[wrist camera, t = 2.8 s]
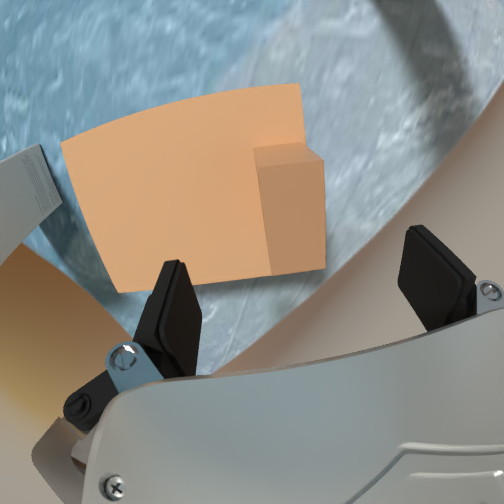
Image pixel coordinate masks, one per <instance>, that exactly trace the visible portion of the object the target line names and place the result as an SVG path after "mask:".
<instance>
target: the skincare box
mask: <svg viewBox="0 0 504 504" xmlns="http://www.w3.org/2000/svg"><path fill="white" fill-rule="evenodd" d="M62 203H63V202H62V200H61V198H60V195H59V193H58V191H57V189H56V186H55V184H54V182H53V179H52V177H51V174H50V172H49V169H48V167H47V164H46V161H45V159H44V156H43V153H42V151H41V148H40V145H39V144H38V143H37V144H35V145H32V146H30V147H28V148H26V149H24V150H22V151H20V152H18V153H16V154H14V155H12V156H10V157H8V158H6V159H4V160H2V161H0V265H1V264H2V263H3V262H4V261H5V259H6V258H7V257H8V256H9V255H10V254H11V253H12V251H14V250H15V248H16V247H17V246H18V245H19V244H20V243H21V242H22V241H23V240H24V239H25V238H26V237H27V236H28V235H29V234H30V233H31V232H32V231H33V230H34V229H35V228H36V227H37V226H38V225H39V224H40V223H41V222H42V221H43V220H44V219H45V218H47V217H48V216H49V215H50V214H51V213H52V212H53V211H54V210H55V209H56V208H57V207H58V206H60V205H61V204H62Z"/></svg>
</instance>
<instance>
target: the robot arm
mask: <svg viewBox="0 0 504 504" xmlns="http://www.w3.org/2000/svg"><path fill="white" fill-rule="evenodd" d="M475 280H476V276H475V275H474V274H473V272H472V271H471V270H470V269H469V268H468V267H467V266H466V265H465V264H464V263H463V262H462V261H461V260H460V259H459V258H458V257H457V256H456V255H455V254H454V253H453V252H452V251H451V250H449V248H448V247H446V246H445V245H444V244H443V243H442V242H441V241H440V240H439V239H438V238H437V237H436V236H434V235H433V234H432V233H431V232H430V231H429V230H428V229H427V228H426V227H424V226H423V225H415V226H410V227H409V230H407V231H406V235H405V242H404V249H403V254H402V260H401V266H400V271H399V276H398V286H399V288H400V290H401V291H402V293H403V294H404V296H405V297H406V299H407V300H408V302H409V303H410V305H411V306H412V308H413V309H414V311H415V313H416V314H417V316H418V317H419V319H420V320H421V322H422V324H423V325H424V327H425V329H426V330H427V332H426V333H423V334H420V335H417V336H413V337H410V338H407V339H404V340H400V341H397V342H393V343H390V344H386V345H382V346H378V347H375V348H371V349H367V350H363V351H358V352H354V353H350V354H346V355H341V356H336V357H331V358H326V359H321V360H316V361H311V362H306V363H299V364H293V365H287V366H280V367H273V368H266V369H258V370H249V371H240V372H231V373H221V374H209V375H197V376H195V375H196V366H197V357H198V349H199V341H200V333H201V325H202V312H201V309H200V306H199V303H198V301H197V298H196V295H195V292H194V289H193V286H192V283H191V280H190V277H189V274H188V271H187V268H186V265H185V263H184V262H180V260H179V259H176V260H169V261H165V262H164V264H163V266H162V269H161V271H160V274H159V277H158V279H157V282H156V284H155V287H154V290H153V292H152V295H150V296H149V297H148V299H147V302H146V304H145V307H144V310H143V312H142V315H141V318H140V321H139V324H138V326H137V329H136V332H135V335H134V338H133V341H132V342H131V341H127V342H122V343H120V344H118V345H116V346H115V347H113V348H112V349H111V350H110V352H109V353H108V355H107V357H106V361H105V365H106V368H107V370H105V371H104V372H103V373H101V374H100V375H98V376H97V377H95V378H94V379H93V380H91V381H90V382H88V383H87V384H85V385H84V386H83V387H81V388H80V389H78V390H77V391H76V392H74V393H72V394H71V395H70V396H69V397H68V398H67V400H66V402H65V404H64V407H63V413H64V417H63V418H62V419H61V418H60V417H58V418H57V419H56V420H55V422H54V423H53V424H52V425H51V427H50V428H49V429H48V430H47V431H46V432H45V434H44V435H43V436H42V438H41V439H40V440H39V441H38V442H37V443H36V445H35V446H34V448H33V450H32V455H31V456H32V461H33V464H34V466H35V467H36V468H37V470H38V471H39V473H40V474H41V475H42V477H43V478H44V479H45V480H46V482H47V483H48V485H49V486H50V487H51V488H52V490H53V491H54V492H55V493H56V495H57V496H58V497H59V498H60V499H61V500H62V502H63V503H64V504H504V291H503V290H502V288H501V287H500V286H499V285H497V284H496V283H494V282H492V281H488V280H483V281H480V282H479V283H478V284H477V286H476V285H475V284H474V283H475Z"/></svg>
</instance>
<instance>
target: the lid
mask: <svg viewBox="0 0 504 504" xmlns="http://www.w3.org/2000/svg"><path fill="white" fill-rule="evenodd" d="M60 144H61V148H62V152H63V155H64V159H65V162H66V166H67V169H68V172H69V176H70V179H71V182H72V185H73V188H74V191H75V194H76V197H77V200H78V202H79V205H80V208H81V211H82V213H83V216H84V219H85V221H86V224H87V226H88V229H89V231H90V234H91V236H92V238H93V241H94V243H95V245H96V248H97V250H98V252H99V254H100V257H101V259H102V261H103V263H104V265H105V267H106V269H107V272H108V274H109V276H110V278H111V280H112V282H113V284H114V286H115V288H116V290H117V292H118V293H125V292H135V291H145V290H154V287H155V284H156V282H157V279H158V277H159V274H160V271H161V269H162V266H163V264H164V262H165V261H169V260H176V259H179V260H180V262H184V263H185V265H186V268H187V271H188V274H189V277H190V280H191V283H192V285H199V284H207V283H216V282H224V281H232V280H240V279H247V278H255V277H262V276H270V275H272V276H276V275H283V274H290V273H297V272H304V271H311V270H317V269H324V268H326V211H325V180H324V161H323V160H322V159H321V158H320V157H319V156H318V155H316V154H315V153H314V152H313V151H312V150H310V149H309V148H308V147H307V146H306V137H305V127H304V117H303V108H302V100H301V92H300V84H299V83H294V84H280V85H269V86H260V87H252V88H244V89H237V90H231V91H225V92H219V93H214V94H208V95H203V96H198V97H194V98H189V99H185V100H181V101H177V102H173V103H169V104H165V105H161V106H158V107H154V108H151V109H147V110H144V111H141V112H138V113H135V114H131V115H128V116H126V117H123V118H120V119H117V120H114V121H111V122H109V123H106V124H103V125H101V126H98V127H96V128H93V129H91V130H88V131H86V132H83V133H81V134H79V135H77V136H74V137H72V138H70V139H68V140H65V141H63V142H61V143H60Z"/></svg>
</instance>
